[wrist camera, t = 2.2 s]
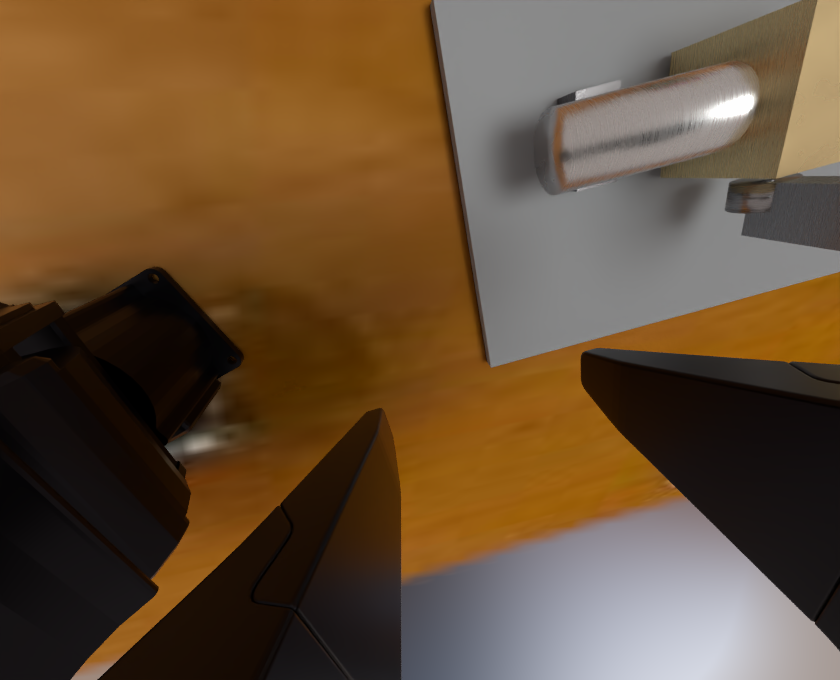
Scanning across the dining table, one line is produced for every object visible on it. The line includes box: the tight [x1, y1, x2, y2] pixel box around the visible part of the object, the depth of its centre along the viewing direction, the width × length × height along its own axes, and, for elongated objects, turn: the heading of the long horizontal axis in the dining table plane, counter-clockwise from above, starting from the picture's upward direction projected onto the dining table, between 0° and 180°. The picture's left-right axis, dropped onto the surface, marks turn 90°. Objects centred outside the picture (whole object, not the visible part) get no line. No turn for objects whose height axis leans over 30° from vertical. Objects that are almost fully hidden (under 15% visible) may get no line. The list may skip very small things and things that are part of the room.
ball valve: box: [534, 0, 840, 195], centre depth 14 cm, size 20×6×6 cm, turn 103°
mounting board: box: [430, 0, 840, 367], centre depth 18 cm, size 26×18×1 cm
